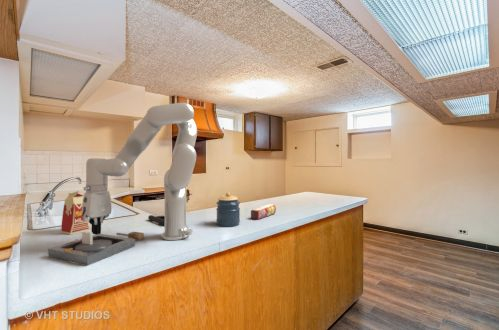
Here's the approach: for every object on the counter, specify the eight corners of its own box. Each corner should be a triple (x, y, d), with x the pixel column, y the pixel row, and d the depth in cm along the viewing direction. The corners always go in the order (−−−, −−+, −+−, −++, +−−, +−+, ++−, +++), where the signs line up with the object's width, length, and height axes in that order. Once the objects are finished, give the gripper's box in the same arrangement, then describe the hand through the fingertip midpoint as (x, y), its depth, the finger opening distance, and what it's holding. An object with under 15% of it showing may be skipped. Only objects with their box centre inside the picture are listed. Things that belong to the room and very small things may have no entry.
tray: (134, 246, 101) (134, 237, 101) (87, 265, 82) (87, 255, 82) (99, 240, 108) (99, 232, 108) (48, 257, 89) (48, 247, 89)
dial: (119, 245, 99) (119, 230, 98) (90, 255, 87) (90, 239, 87) (97, 241, 103) (97, 227, 103) (67, 251, 91) (67, 235, 91)
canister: (225, 228, 128) (225, 194, 127) (211, 223, 138) (211, 192, 137) (244, 224, 136) (244, 192, 136) (230, 220, 146) (230, 190, 146)
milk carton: (90, 230, 124) (90, 190, 124) (70, 235, 116) (70, 192, 116) (79, 227, 128) (79, 189, 128) (59, 232, 120) (59, 191, 119)
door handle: (171, 212, 156) (146, 215, 144) (188, 218, 141) (161, 221, 130) (171, 218, 156) (145, 220, 144) (188, 224, 141) (161, 227, 130)
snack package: (258, 220, 145) (258, 209, 145) (249, 219, 149) (249, 208, 149) (276, 214, 163) (276, 204, 163) (267, 213, 167) (267, 203, 166)
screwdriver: (143, 239, 111) (143, 232, 110) (139, 241, 108) (139, 234, 108) (119, 235, 115) (119, 229, 115) (114, 237, 113) (114, 231, 113)
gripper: (85, 191, 93) (84, 240, 93) (119, 187, 107) (118, 230, 107) (71, 189, 95) (71, 237, 95) (106, 186, 109) (105, 228, 109)
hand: (96, 233), depth 101 cm, fingers closed
